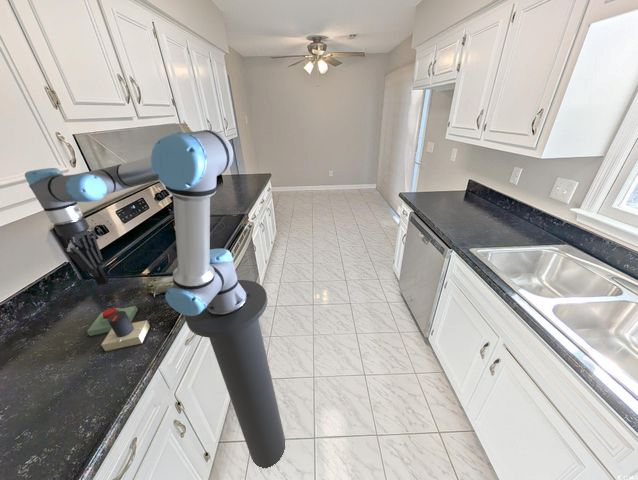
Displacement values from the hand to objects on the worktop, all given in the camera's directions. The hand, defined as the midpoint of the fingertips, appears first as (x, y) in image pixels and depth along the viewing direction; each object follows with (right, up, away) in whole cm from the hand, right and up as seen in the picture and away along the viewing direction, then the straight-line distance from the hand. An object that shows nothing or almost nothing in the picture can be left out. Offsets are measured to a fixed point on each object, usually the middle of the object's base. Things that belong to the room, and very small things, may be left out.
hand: (103, 282), depth 88 cm
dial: (+9, -16, -2) cm, 19 cm away
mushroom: (+8, -7, +24) cm, 26 cm away
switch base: (-1, -16, +7) cm, 17 cm away
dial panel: (+9, -19, -1) cm, 21 cm away
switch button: (-2, -13, +5) cm, 14 cm away
